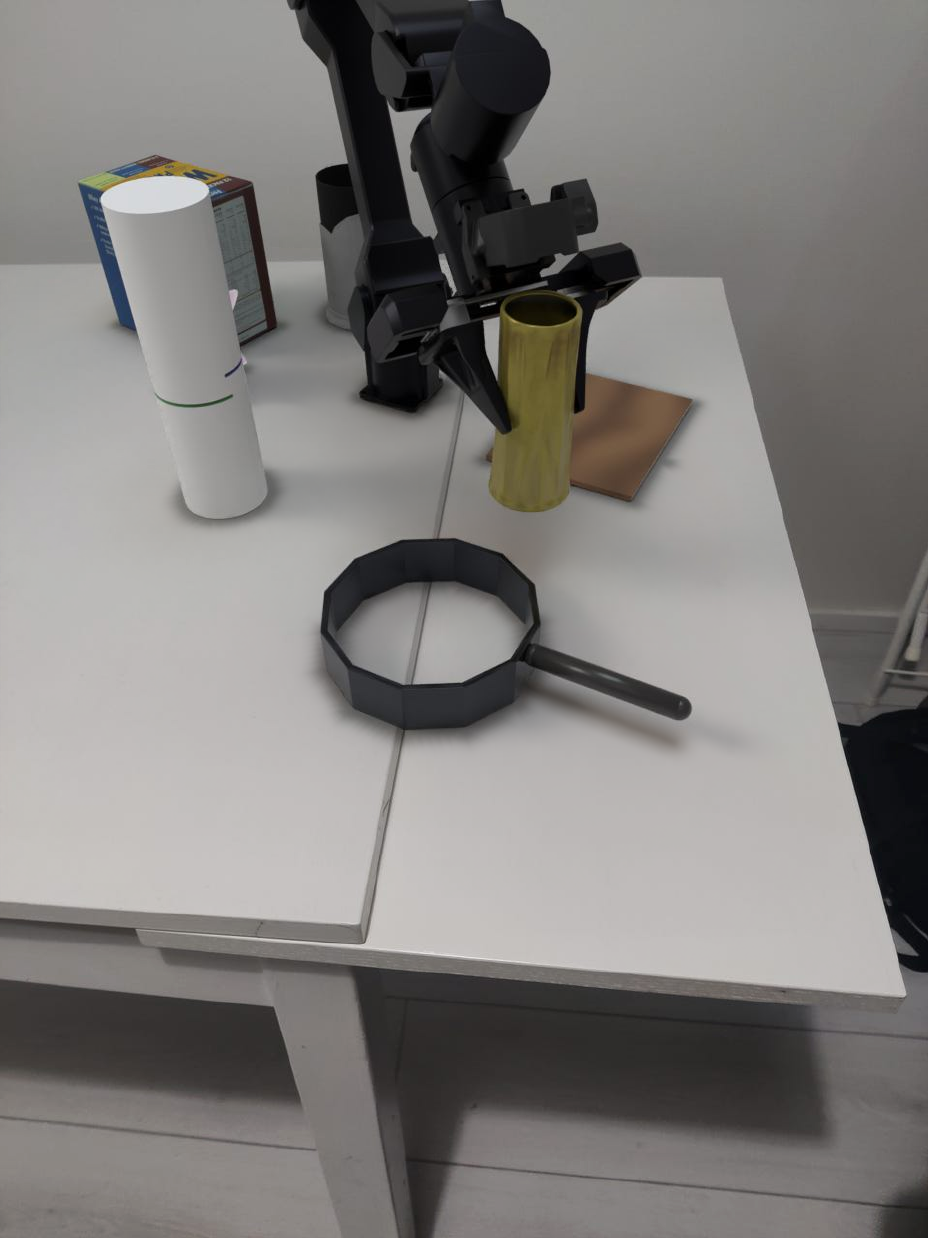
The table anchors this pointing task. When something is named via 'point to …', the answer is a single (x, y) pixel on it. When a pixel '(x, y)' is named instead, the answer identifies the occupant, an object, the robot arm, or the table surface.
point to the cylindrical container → (188, 339)
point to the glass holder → (339, 238)
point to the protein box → (233, 228)
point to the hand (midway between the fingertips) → (543, 422)
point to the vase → (536, 399)
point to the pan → (486, 689)
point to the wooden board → (620, 435)
